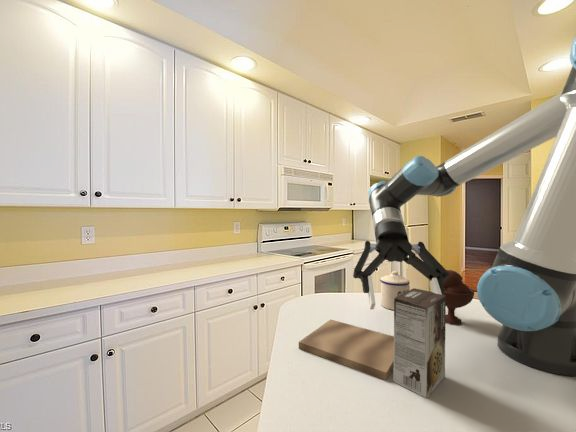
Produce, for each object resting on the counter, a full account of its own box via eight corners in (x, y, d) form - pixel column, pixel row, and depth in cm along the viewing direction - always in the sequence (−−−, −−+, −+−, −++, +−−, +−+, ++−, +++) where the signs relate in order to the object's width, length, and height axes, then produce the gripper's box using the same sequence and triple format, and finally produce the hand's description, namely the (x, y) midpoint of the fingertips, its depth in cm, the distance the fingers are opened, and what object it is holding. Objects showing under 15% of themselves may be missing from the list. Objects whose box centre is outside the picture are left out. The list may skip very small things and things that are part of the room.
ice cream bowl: (481, 330, 73) (482, 274, 72) (436, 327, 75) (437, 272, 75) (464, 315, 83) (465, 266, 83) (424, 312, 85) (425, 265, 85)
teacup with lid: (397, 313, 85) (397, 276, 84) (374, 304, 93) (374, 270, 92) (420, 306, 91) (421, 271, 91) (397, 298, 99) (397, 266, 98)
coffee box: (412, 363, 57) (413, 287, 57) (446, 377, 53) (447, 294, 52) (391, 381, 51) (392, 296, 51) (427, 399, 47) (429, 306, 46)
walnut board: (406, 346, 65) (406, 339, 65) (386, 380, 52) (386, 372, 52) (330, 324, 76) (330, 319, 76) (298, 348, 64) (298, 341, 63)
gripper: (435, 238, 72) (464, 318, 57) (339, 237, 75) (343, 312, 60) (445, 219, 66) (479, 302, 52) (341, 219, 69) (346, 297, 55)
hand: (406, 308), depth 56 cm, fingers open, 13 cm apart
